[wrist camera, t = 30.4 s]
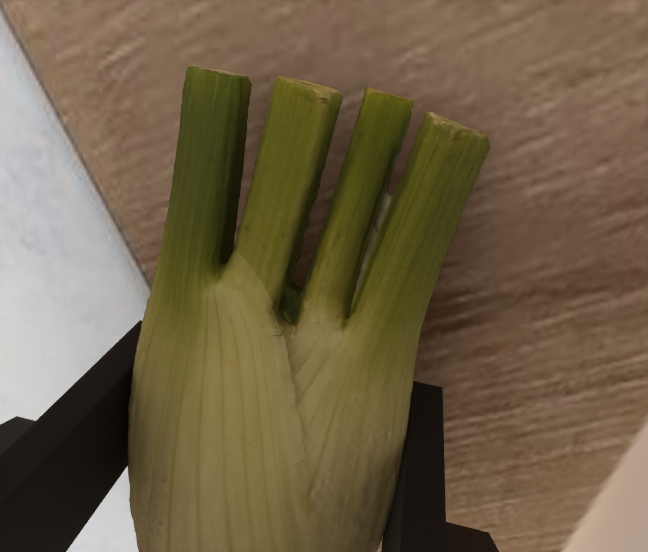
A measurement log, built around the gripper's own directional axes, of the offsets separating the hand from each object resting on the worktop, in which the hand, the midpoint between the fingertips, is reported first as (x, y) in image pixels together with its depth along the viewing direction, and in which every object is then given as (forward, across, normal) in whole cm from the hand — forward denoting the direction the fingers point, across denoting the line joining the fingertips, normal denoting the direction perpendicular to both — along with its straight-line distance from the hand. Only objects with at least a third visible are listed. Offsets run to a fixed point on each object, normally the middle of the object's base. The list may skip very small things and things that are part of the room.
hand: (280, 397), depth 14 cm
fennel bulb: (-3, 0, -4) cm, 5 cm away
